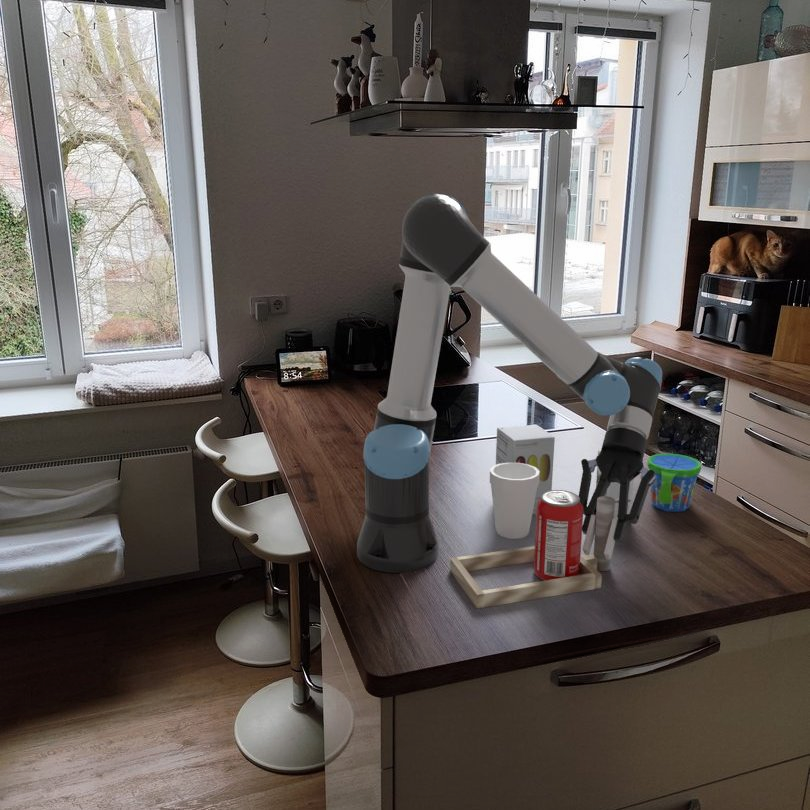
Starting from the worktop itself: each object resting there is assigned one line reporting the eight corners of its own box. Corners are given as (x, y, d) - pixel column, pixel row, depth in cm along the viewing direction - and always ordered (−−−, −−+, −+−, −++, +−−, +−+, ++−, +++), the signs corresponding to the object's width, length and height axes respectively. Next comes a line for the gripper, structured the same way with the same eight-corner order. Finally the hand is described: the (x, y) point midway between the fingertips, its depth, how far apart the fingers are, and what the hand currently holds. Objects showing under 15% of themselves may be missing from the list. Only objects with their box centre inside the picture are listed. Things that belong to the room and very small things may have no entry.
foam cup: (503, 547, 146) (505, 483, 142) (479, 527, 154) (481, 466, 150) (546, 537, 149) (549, 475, 146) (520, 519, 157) (523, 459, 154)
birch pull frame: (476, 608, 124) (478, 535, 121) (450, 570, 136) (450, 503, 133) (628, 583, 132) (634, 513, 128) (590, 549, 144) (594, 485, 140)
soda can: (545, 590, 130) (549, 508, 126) (526, 568, 138) (529, 490, 133) (587, 583, 132) (592, 503, 128) (566, 562, 139) (570, 485, 135)
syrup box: (631, 523, 155) (637, 456, 151) (603, 526, 154) (608, 457, 150) (619, 512, 160) (624, 446, 156) (592, 514, 160) (597, 448, 155)
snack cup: (657, 489, 172) (661, 446, 169) (705, 499, 166) (710, 455, 163) (632, 513, 160) (636, 467, 157) (684, 525, 154) (689, 478, 151)
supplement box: (509, 518, 158) (512, 440, 153) (492, 501, 167) (494, 426, 162) (552, 512, 160) (556, 436, 156) (533, 496, 169) (536, 422, 164)
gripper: (673, 451, 141) (646, 572, 132) (586, 438, 149) (555, 552, 139) (670, 432, 135) (641, 557, 126) (580, 419, 143) (547, 536, 133)
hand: (596, 554), depth 133 cm, fingers closed on birch pull frame, 3 cm apart
